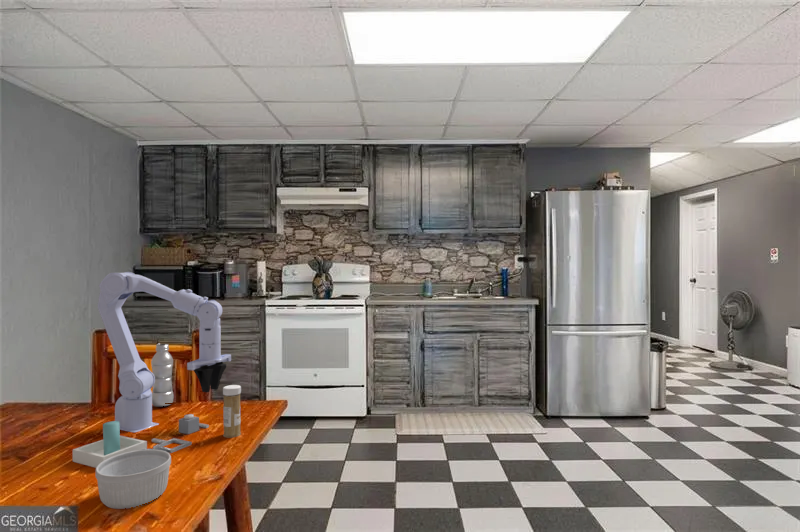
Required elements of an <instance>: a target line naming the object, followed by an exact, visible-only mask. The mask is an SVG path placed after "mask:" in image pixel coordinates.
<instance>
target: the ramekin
mask: <svg viewBox="0 0 800 532" xmlns="http://www.w3.org/2000/svg"><path fill="white" fill-rule="evenodd" d="M147 449H148V450H137V451H131V452H126V453H122V454H119V455H116V456H113V457H110V458H108V459H106V460H104V461H103V462H101V463H100V464H99V465H98V466H97V467H96V468H95V472H94V473H95V478H96V480H97V487H98V494H99V499H100V501H101V503H102V504H103V505H105V506H106V507H107V508H111V509H114V510H115V509H116V510H120V509H124V510H125V508H126V509H131V507H133V508H137V507H136V506H138V507H140V506H139V505H141V506H143V505H142V504H145V503H147V504H149V503H148V502H150V501H152V500H154V499H156V498H157V499H158V497H159V496H160V495H161V496H162V495H163V493H164V492H165V491H166V489H167V486H168V482H169V475H170V466H171V464H172V456H171V453H168V452H166V451H162V450H154V449H153V448H147ZM161 496H160V497H161ZM160 497H159V498H160ZM157 499H156V500H157ZM154 501H155V500H154ZM152 502H153V501H152ZM150 503H151V502H150ZM145 505H146V504H145Z"/></svg>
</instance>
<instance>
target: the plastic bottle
mask: <svg viewBox="0 0 800 532" xmlns="http://www.w3.org/2000/svg"><path fill="white" fill-rule="evenodd" d="M169 350H170V347H169V343H157V344H156V346H155V351H156V353H155V354H154V355H153V357H152V358H151V365H150V366H151V369H152V370H151V372H152V373H153V374H154V376H155V383H154V385H153V387H152V407H157V408H160V407H162V408H163V406H164V407H167V406H168V407H169V406H170V405H171V404H165V403H173V402H174V399H175V398H174V397H175V396H174V391H173V385H172V384H173V383H172V376H173V375H172V373H173V367H174V366H173V365H174V359H173V356H172V354H171V353H170V352H169Z"/></svg>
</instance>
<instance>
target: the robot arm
mask: <svg viewBox="0 0 800 532" xmlns="http://www.w3.org/2000/svg"><path fill="white" fill-rule="evenodd" d="M98 286H99V296H98V302H97V311H98V313H99V316H100V318H101V321H102V324H103V325H104V328H105V332H106V334H107V337H108V339H109V342H110V344H111V347H112V349H113V353H114V355H115V357H116V360H117V363H118V365H119V370H118V375H117V377H118V380H119V387H118V389H119V393H120V394H121V396H120V397H118V399H117V400H116V402H115V405H114V421H119V425H120V430H121V431H125V432H130V433H137V432H141V431H143V430H146V429H149V428H153V427H155V426H159V425H160V423H158V422H153V404H152V393H153V391H152V390H151V389H153V385H154V383H155V376H154V374H153V371H152V370H150V369H149V368H148V364H146V363H145V362H144V361H143V360H142V359H141V357H140V354H139V352H138V349H137V347H136V344H135V341H134V338H133V335H132V333H131V331H130V328H129V325H128V323H127V320H126V318H125V314H124V312H123V309H122V307H123V305H124V303H125V302H126V300H127V299H128V298H130V296H131V295H132V294H134V293H139V292H140V293H141V292H144V293H147V294H150V295H152V296H155V297H158V298H161V299H163V300H165V301H168V302H171V305H172V307H173V308H174V309H176V310H179V311H181V312H183V313H185V314H188V315H191V316H194V317H197V318H198V320H199V330H198V332H199V339H198V341H199V346H198V347H199V350H198V351H199V352H198V353H199V358H198V359H197V358H196V359H195V360H192V361H189V362H187V363H186V370H188V371H193V372H194V373H195V375H196V377H197V379H198V381H199V385H200V387H201V391H202V392H203V393H210V390H213V391H217V390H219V386H220V382H221V378H222V377H223V374H224V371H225V370H226V368H227V364H226V363H225V362H231V361H232V354H229V353H225V354H222V353H221V352H222V351H221V350H222V348H221V347H222V345H221V344H222V343H221V342H222V341H221V340H222V339H221V338H222V335H221V333H222V331H221V330H222V327H221V318H220V317H221V316H222V314H223V310H224V309H223V306H222V305H221V303H219V301H217V300H215V299H209V297H207V296H201V295H197V294H196V293H194V292H193V290H192V289H189V288H188V289H184V288H183V289H180V290H178V291H177V290H174V289H173V288H170V287H169V286H166V285H163V284H162V283H160V282H157V281H155V280H153V279H151V278H149V277H146V276H143V275H141V274H135V273H134V272H131V271H124V272H110V273H108V274H106V275H105V276H104V277H103V279H102V280H101V282H100V283H99V284H98Z"/></svg>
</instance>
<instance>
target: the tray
mask: <svg viewBox="0 0 800 532" xmlns="http://www.w3.org/2000/svg"><path fill="white" fill-rule="evenodd" d="M142 449H148V441H147V440H143V439H138V438H134V437H128V436H125V435H120V450H118V451H116V452H113V453H110V454H107V455H104V444H103V439H101V440H98V441H94V442H92V443H87V444H85V445H82V446H79V447H76V448H73V449H72V462H74V463H77V464H80V465H85V466H87V467H90V468H95V469H96V467H97V466H98V465H99V464H100V463H101V462H103V461H104V460H106V459H108V458H110V457H113V456H116V455H119V454H122V453H126V452H131V451H137V450H142Z"/></svg>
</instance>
